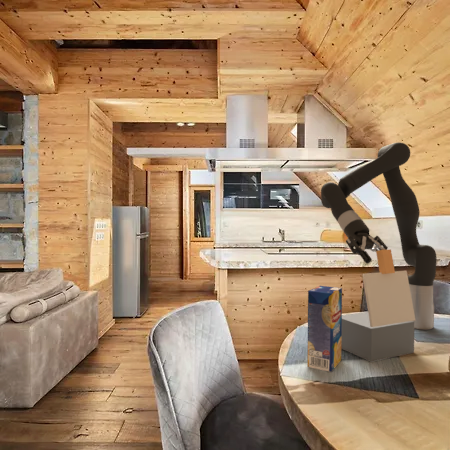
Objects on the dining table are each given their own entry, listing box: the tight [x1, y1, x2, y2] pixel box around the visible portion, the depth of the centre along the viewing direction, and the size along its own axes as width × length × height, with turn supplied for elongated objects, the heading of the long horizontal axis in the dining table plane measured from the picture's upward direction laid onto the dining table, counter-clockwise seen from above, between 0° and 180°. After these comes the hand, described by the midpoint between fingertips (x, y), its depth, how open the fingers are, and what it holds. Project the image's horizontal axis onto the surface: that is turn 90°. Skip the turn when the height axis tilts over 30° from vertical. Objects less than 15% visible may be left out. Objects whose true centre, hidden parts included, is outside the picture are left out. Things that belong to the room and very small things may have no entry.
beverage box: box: [306, 285, 343, 373], centre depth 107 cm, size 7×11×22 cm, turn 147°
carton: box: [341, 311, 415, 363], centre depth 120 cm, size 19×16×10 cm
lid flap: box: [362, 249, 415, 327], centre depth 114 cm, size 19×23×2 cm
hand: (378, 261), depth 118 cm, fingers open, 8 cm apart
